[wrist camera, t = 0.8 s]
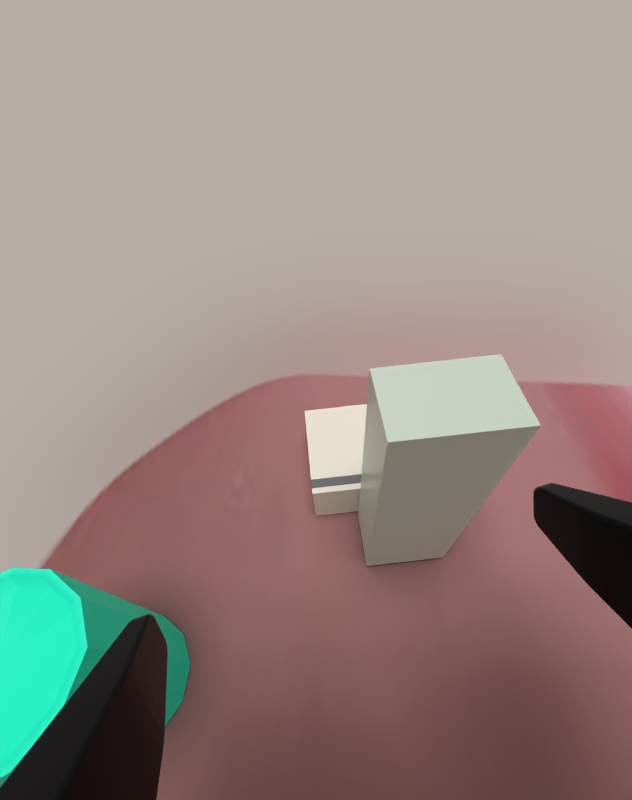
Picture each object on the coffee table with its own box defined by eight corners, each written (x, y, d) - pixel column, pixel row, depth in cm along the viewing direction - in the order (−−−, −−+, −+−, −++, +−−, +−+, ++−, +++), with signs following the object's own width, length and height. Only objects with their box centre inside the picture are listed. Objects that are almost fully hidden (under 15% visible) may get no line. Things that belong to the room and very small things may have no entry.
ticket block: (467, 499, 25) (483, 474, 22) (316, 516, 25) (312, 493, 22) (440, 423, 28) (451, 393, 26) (308, 438, 28) (304, 410, 25)
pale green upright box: (443, 557, 22) (540, 425, 11) (366, 566, 22) (387, 442, 11) (429, 507, 24) (500, 353, 13) (357, 515, 24) (369, 367, 13)
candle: (121, 598, 22) (-44, 529, 13) (210, 635, 21) (99, 590, 11) (48, 724, 19) (-251, 759, 9) (148, 780, 17) (-85, 888, 8)
